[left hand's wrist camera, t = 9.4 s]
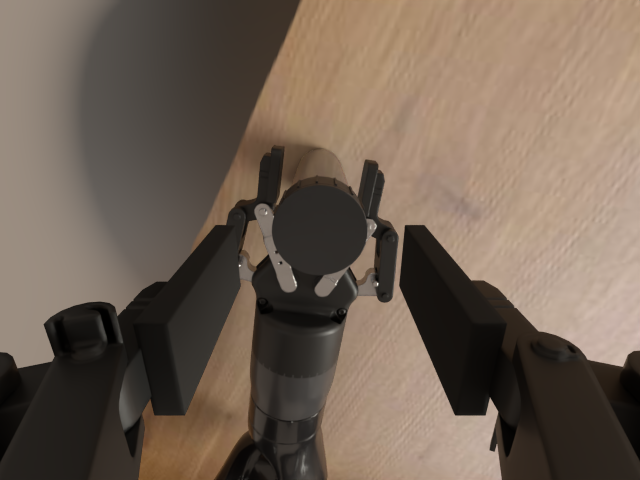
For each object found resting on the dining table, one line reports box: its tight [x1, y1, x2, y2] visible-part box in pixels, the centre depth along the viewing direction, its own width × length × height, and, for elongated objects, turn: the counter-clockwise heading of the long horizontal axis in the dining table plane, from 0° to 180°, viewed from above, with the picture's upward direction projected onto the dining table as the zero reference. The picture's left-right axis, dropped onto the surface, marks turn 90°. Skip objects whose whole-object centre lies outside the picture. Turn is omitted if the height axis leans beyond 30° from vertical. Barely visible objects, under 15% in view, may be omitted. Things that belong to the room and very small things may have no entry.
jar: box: [291, 149, 349, 187], centre depth 24 cm, size 4×4×15 cm
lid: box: [272, 175, 368, 275], centre depth 18 cm, size 5×5×2 cm
